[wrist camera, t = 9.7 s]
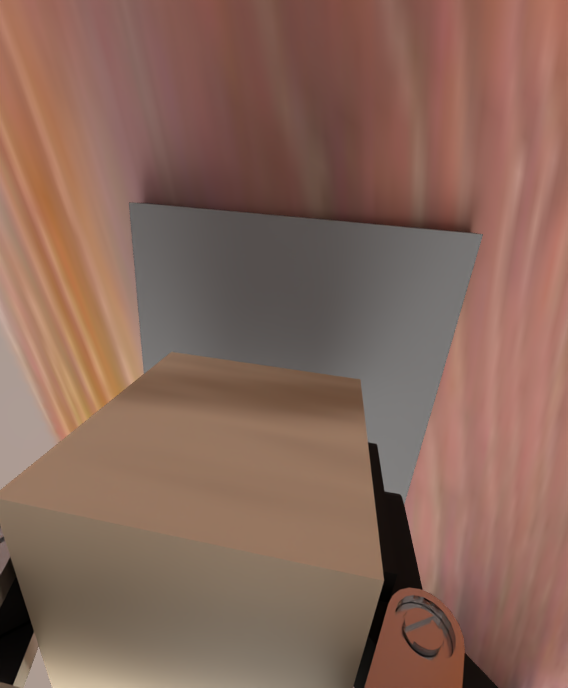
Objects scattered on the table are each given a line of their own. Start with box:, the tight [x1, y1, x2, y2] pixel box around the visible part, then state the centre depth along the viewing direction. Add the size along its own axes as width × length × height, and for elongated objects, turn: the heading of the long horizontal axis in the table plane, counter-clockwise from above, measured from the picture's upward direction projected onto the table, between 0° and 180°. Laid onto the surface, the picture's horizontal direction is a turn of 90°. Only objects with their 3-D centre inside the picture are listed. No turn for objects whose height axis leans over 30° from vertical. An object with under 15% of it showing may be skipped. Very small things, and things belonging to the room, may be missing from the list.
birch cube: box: [0, 352, 384, 688], centre depth 9 cm, size 6×6×6 cm
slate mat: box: [129, 202, 483, 503], centre depth 16 cm, size 14×14×1 cm
